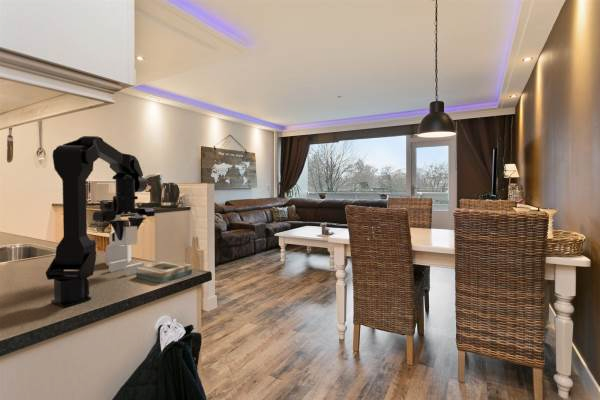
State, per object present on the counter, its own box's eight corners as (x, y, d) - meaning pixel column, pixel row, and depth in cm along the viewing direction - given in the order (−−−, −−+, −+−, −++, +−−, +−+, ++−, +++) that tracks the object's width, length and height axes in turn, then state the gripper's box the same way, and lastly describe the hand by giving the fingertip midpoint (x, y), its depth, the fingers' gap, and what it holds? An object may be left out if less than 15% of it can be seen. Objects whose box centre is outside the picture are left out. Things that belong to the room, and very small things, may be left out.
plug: (126, 245, 106) (126, 221, 106) (114, 243, 109) (114, 220, 109) (137, 243, 110) (137, 220, 110) (125, 242, 113) (125, 219, 112)
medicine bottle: (131, 260, 126) (131, 229, 125) (127, 264, 119) (127, 232, 118) (110, 261, 124) (110, 229, 123) (105, 265, 117) (105, 232, 116)
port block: (162, 283, 98) (162, 273, 98) (136, 277, 104) (136, 268, 104) (191, 273, 109) (191, 264, 109) (166, 268, 115) (166, 260, 114)
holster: (127, 275, 105) (127, 266, 105) (108, 271, 110) (108, 262, 109) (143, 271, 110) (143, 262, 110) (125, 267, 115) (125, 259, 115)
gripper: (135, 191, 121) (135, 233, 121) (82, 193, 104) (83, 241, 105) (155, 192, 115) (155, 236, 116) (103, 194, 99) (104, 244, 100)
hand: (126, 239), depth 110 cm, fingers closed on plug, 4 cm apart
